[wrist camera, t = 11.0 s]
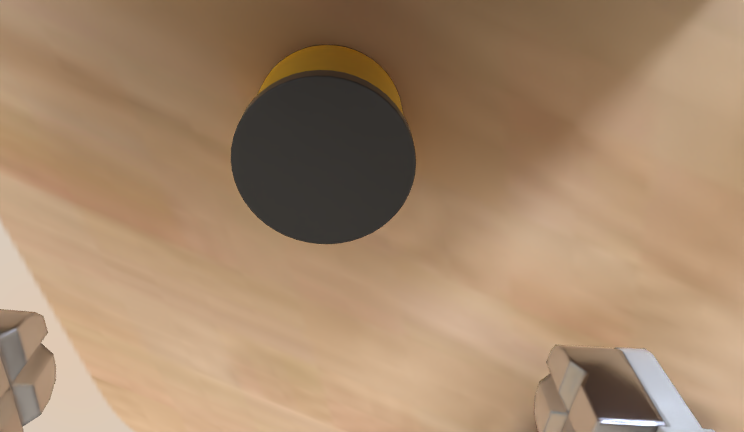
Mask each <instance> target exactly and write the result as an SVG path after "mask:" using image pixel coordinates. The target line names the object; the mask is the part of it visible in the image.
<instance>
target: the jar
mask: <svg viewBox="0 0 744 432" xmlns="http://www.w3.org/2000/svg"><path fill="white" fill-rule="evenodd" d="M231 166H232V172H233V176H234V180H235V183H236V186H237V188H238V191H239V192H240V194H241V196H242V198H243V200H244V201H245V203H246V204H247V205H248V207H249V208H250V209H251V211H252V212H253V213H254V214H255V215H256V216H257V217H258V218H259V219H260V220H262V221H263V222H264V223H265V224H266V225H268V226H269V227H271V228H273V229H274V230H276V231H277V232H279V233H281V234H283V235H285V236H288V237H291V238H293V239H296V240H300V241H304V242H309V243H316V244H336V243H343V242H348V241H353V240H356V239H359V238H362V237H364V236H366V235H368V234H371V233H373V232H374V231H376V230H377V229H379V228H381V227H382V226H383V225H384V224H386V223H387V222H388V221H389V220H390V219H391V218H392V217H393V216H394V215H395V214H396V213H397V212H398V211H399V209H400V208H401V207H402V205H403V204H404V202H405V200H406V199H407V197H408V195H409V193H410V190H411V187H412V185H413V181H414V176H415V168H416V156H415V148H414V143H413V139H412V135H411V132H410V129H409V126H408V123H407V122H406V120H405V118H404V115H403V110H402V106H401V101H400V97H399V95H398V92H397V89H396V87H395V85H394V83H393V81H392V80H391V79H390V77H389V76H388V74H387V73H386V72H385V71H384V70H383V69H382V67H381V66H380V65H378V64H377V63H376V62H375V61H374V60H372V59H371V58H369V57H368V56H366V55H364V54H362V53H360V52H358V51H356V50H353V49H350V48H347V47H342V46H336V45H319V46H312V47H308V48H304V49H302V50H299V51H296V52H294V53H292V54H291V55H289V56H287V57H286V58H284V59H283V60H282V61H280V62H279V63H278V64H277V65H276V66H275V67H274V68H273V69H272V70H271V72H270V73H269V74H268V76H267V77H266V79H265V81H264V83H263V84H262V86H261V88H260V90H259V92H258V94H257V96H256V97H255V98H254V99H253V101H252V102H251V103H250V105H249V106H248V107H247V109H246V110H245V112H244V114H243V116H242V118H241V120H240V122H239V124H238V125H237V128H236V131H235V134H234V137H233V142H232V147H231Z"/></svg>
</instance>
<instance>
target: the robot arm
mask: <svg viewBox="0 0 744 432" xmlns="http://www.w3.org/2000/svg"><path fill="white" fill-rule="evenodd" d="M47 333H48V331H47V327H46V324H45V320H44V317H43V316H42V315H40V314H38V313H36V312H27V311H15V310H4V309H0V432H24V431H23V426H24V425H26V424H27V423H29V422H30V421H32V420H33V419H35V418H37V417H38V416H40V415H41V414H42V412H43V410H44V408H45V407H46V405H47V403H48V402H49V400H50V397H51V394H52V391H53V387H54V384H55V381H56V364H55V360H54V355H53V353H52V352H50V351H49V350H48V349H47V348H46V347H45V346H44V345H43V344H41V342H42V340H43V339H44V337H45V336H46V335H47ZM546 363H547V366H548V368H549V370H550V374H549V375H548V376H546V377H545V378H544V379H542V380H541V381H540V382H539V384H538V388H537V391H536V394H535V405H534V415H535V421H536V426H537V429H538V432H715V431H714V430H712V429H702V427H701V426H700V424H699V423H698V421H697V420H696V418H695V417H694V415H693V414H692V412H691V411H690V409H689V408H688V406H687V405H686V403H685V402H684V400H683V399H682V397H681V396H680V394H679V393H678V391H677V390H676V388H675V387H674V385H673V384H672V382H671V381H670V379H669V378H668V376H667V375H666V373H665V372H664V370H663V369H662V367H661V366H660V364H659V363H658V361H657V360H656V358H655V357H654V355H653V354H652V353H651V352H649V351H648V350H646V349H641V348H619V347H615V348H609V347H591V346H572V345H555V346H554V347H553V348H552V350H551V351H550V353H549V356H548V359H547V361H546Z"/></svg>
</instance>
